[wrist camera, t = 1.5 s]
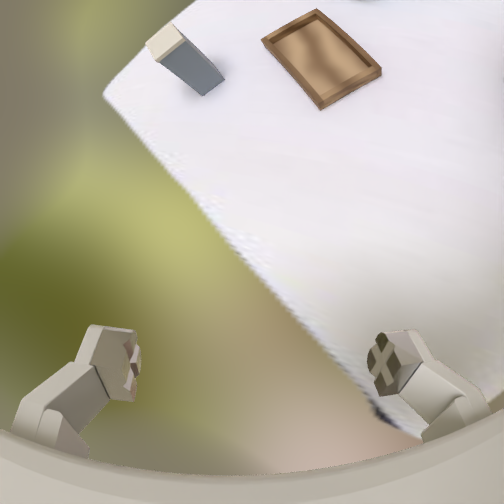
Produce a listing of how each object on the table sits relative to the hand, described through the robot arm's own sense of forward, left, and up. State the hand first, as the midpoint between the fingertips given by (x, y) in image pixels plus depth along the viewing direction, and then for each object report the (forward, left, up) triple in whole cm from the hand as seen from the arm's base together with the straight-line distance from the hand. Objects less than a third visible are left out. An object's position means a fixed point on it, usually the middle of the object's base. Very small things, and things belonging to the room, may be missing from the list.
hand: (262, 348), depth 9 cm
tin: (+2, -40, -34) cm, 53 cm away
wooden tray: (-16, -30, -34) cm, 48 cm away
